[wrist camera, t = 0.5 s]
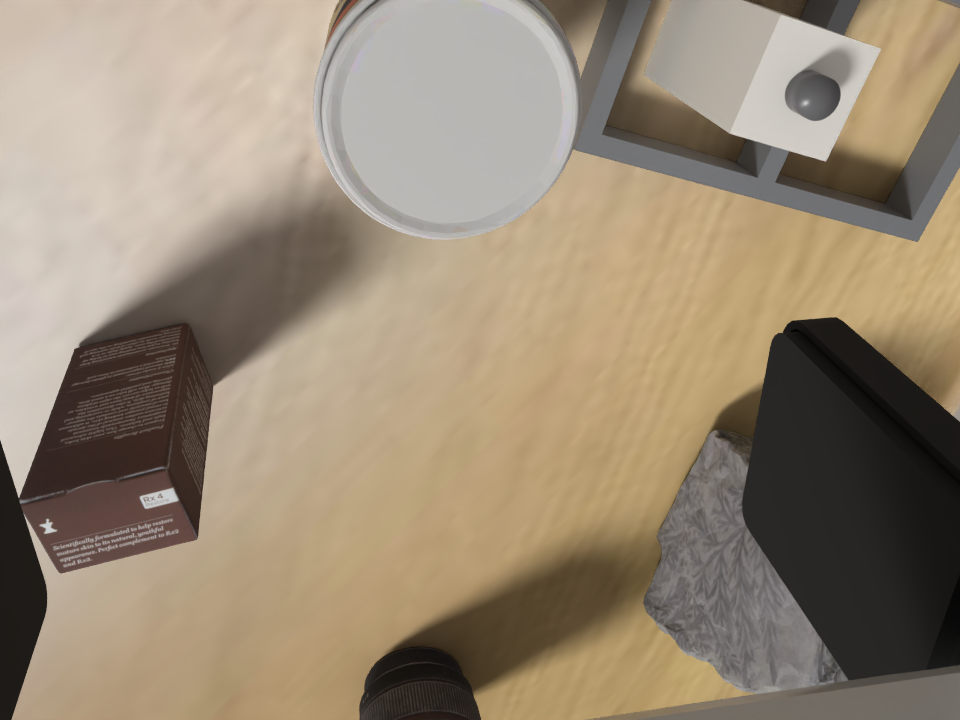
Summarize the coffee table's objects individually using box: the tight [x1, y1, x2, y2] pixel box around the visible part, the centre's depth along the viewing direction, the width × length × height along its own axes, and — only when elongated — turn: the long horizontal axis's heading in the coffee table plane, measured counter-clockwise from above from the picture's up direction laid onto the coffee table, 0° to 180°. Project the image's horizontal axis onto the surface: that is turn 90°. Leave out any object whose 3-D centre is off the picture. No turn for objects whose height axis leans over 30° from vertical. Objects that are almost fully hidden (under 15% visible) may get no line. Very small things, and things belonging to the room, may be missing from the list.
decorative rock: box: [643, 429, 849, 694], centre depth 52 cm, size 16×7×15 cm, turn 163°
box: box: [19, 323, 213, 573], centre depth 41 cm, size 6×4×12 cm
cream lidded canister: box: [313, 0, 582, 240], centre depth 35 cm, size 9×9×12 cm
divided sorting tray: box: [573, 0, 960, 242], centre depth 42 cm, size 13×20×4 cm, turn 72°
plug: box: [643, 0, 881, 162], centre depth 38 cm, size 4×4×11 cm
